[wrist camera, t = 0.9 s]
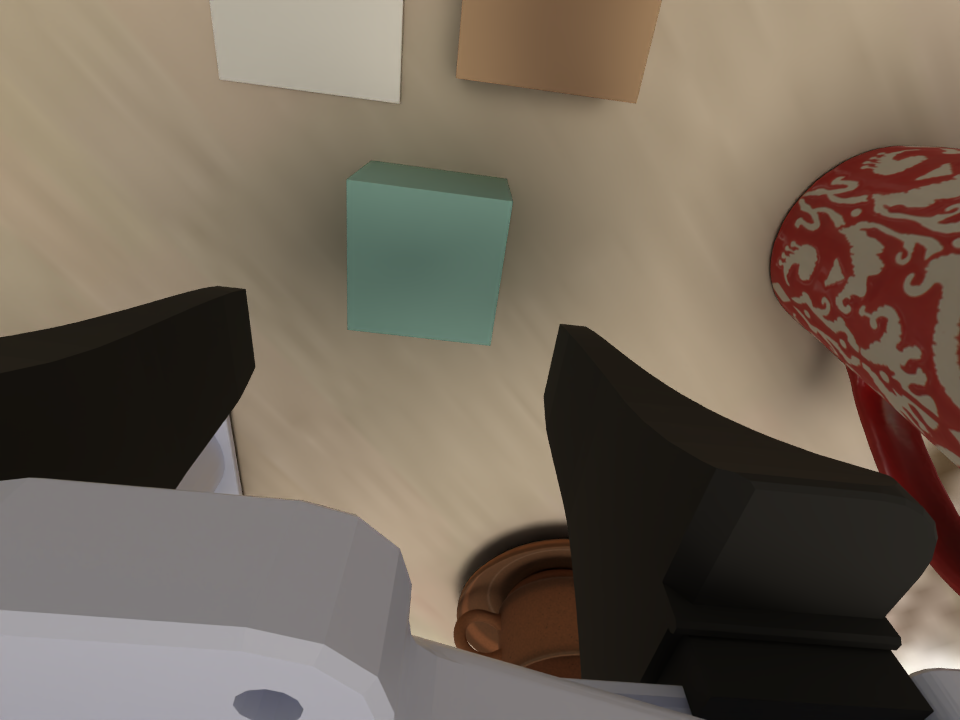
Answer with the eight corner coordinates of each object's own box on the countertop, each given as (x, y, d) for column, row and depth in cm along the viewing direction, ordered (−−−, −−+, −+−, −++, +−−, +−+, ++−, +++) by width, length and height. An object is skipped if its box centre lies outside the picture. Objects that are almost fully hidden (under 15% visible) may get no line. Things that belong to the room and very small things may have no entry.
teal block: (369, 287, 21) (347, 329, 17) (371, 159, 18) (346, 179, 15) (488, 301, 21) (490, 345, 17) (506, 178, 18) (512, 201, 15)
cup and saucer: (469, 647, 34) (467, 754, 28) (445, 526, 28) (437, 633, 22) (646, 636, 33) (678, 744, 28) (660, 510, 27) (705, 616, 22)
